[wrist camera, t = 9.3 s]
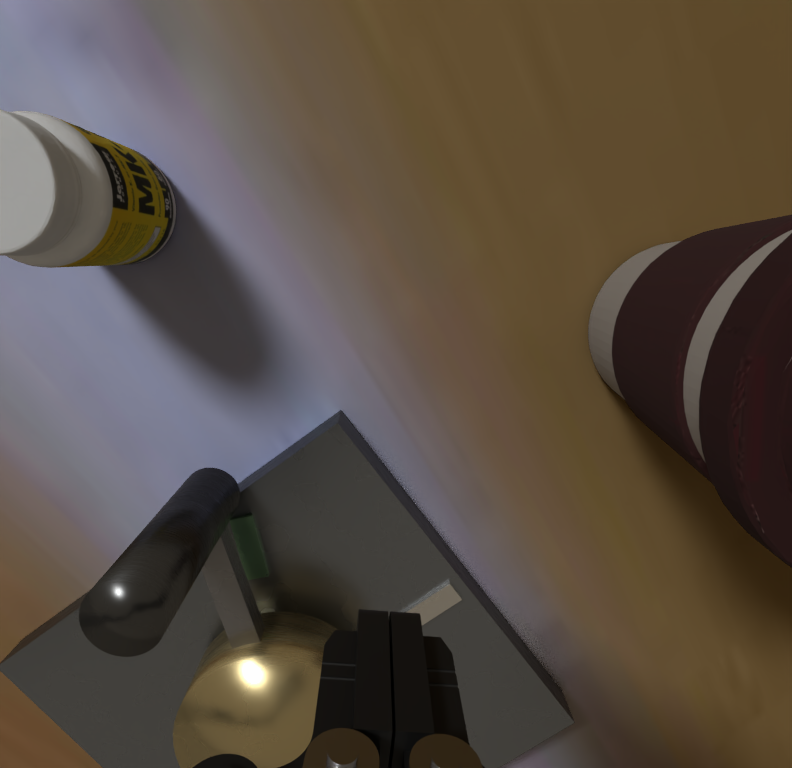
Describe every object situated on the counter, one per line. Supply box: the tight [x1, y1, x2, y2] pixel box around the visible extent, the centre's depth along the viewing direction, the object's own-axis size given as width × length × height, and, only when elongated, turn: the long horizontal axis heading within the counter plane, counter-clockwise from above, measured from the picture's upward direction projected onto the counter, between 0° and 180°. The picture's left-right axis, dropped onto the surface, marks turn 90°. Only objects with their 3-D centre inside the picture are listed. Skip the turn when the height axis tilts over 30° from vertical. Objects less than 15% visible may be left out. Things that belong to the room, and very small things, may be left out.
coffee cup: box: [588, 215, 792, 567], centre depth 18 cm, size 10×10×15 cm
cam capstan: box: [79, 468, 338, 768], centre depth 21 cm, size 15×8×8 cm, turn 15°
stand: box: [0, 410, 575, 768], centre depth 27 cm, size 20×19×4 cm
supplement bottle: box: [0, 110, 176, 267], centre depth 20 cm, size 5×5×8 cm
